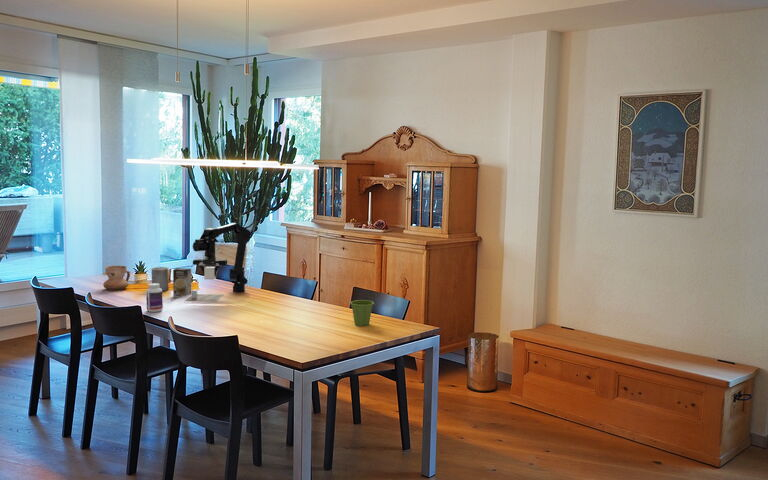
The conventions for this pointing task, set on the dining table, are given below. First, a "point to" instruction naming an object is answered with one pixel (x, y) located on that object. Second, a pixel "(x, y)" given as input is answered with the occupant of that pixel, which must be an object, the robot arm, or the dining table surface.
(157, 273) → the pillar candle
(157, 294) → the pill bottle
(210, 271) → the white rectangular block
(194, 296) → the grey metal block
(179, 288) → the coffee box
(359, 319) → the plant pot
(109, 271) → the ceramic jug
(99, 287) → the dining table surface
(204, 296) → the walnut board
